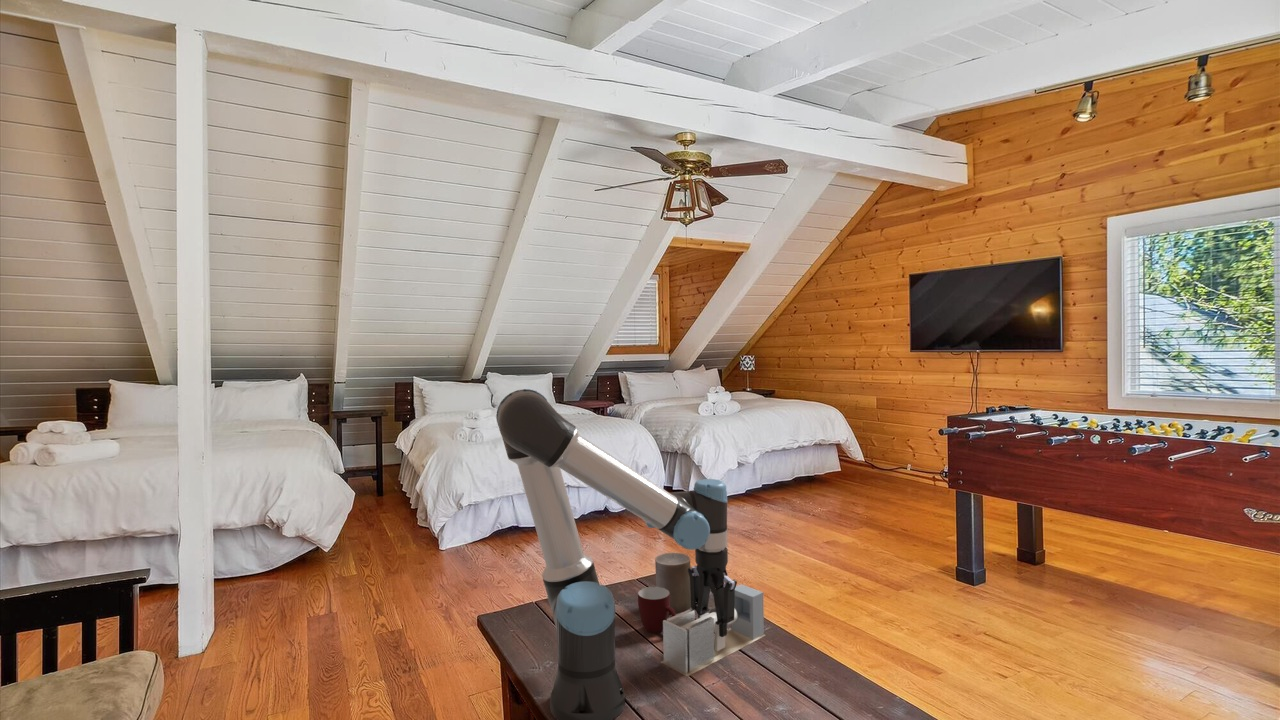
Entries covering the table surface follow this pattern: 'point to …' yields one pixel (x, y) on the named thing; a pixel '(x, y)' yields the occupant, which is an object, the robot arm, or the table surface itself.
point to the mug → (654, 608)
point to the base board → (726, 647)
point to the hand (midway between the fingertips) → (712, 644)
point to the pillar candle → (674, 579)
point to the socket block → (748, 612)
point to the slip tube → (712, 614)
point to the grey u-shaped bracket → (688, 642)
